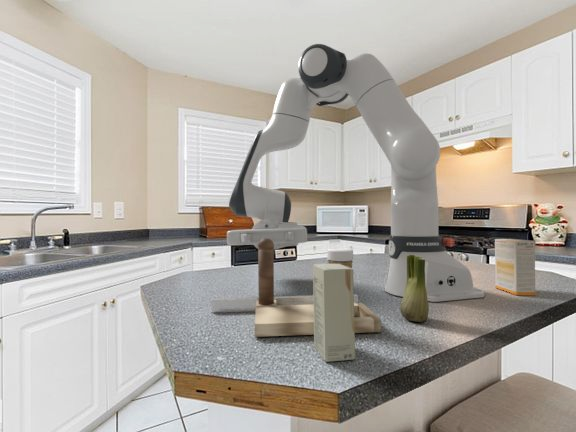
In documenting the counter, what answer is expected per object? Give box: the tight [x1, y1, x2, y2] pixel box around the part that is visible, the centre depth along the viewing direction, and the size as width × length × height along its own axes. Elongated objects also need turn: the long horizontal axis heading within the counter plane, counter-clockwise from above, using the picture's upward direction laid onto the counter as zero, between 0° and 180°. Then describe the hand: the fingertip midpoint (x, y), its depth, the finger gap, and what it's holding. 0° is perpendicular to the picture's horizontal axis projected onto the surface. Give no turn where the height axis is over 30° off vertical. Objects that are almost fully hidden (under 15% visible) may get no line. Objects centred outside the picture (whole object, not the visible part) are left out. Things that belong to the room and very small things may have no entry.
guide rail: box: [211, 293, 359, 313], centre depth 66 cm, size 30×2×2 cm, turn 95°
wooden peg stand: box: [254, 238, 382, 338], centre depth 58 cm, size 20×14×15 cm
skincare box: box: [312, 263, 356, 363], centre depth 45 cm, size 6×4×12 cm
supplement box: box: [494, 238, 536, 296], centre depth 79 cm, size 8×5×13 cm, turn 179°
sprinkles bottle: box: [326, 247, 354, 269], centre depth 56 cm, size 5×5×14 cm
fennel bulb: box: [399, 255, 430, 323], centre depth 58 cm, size 6×5×12 cm
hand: (267, 237), depth 74 cm, fingers open, 8 cm apart
